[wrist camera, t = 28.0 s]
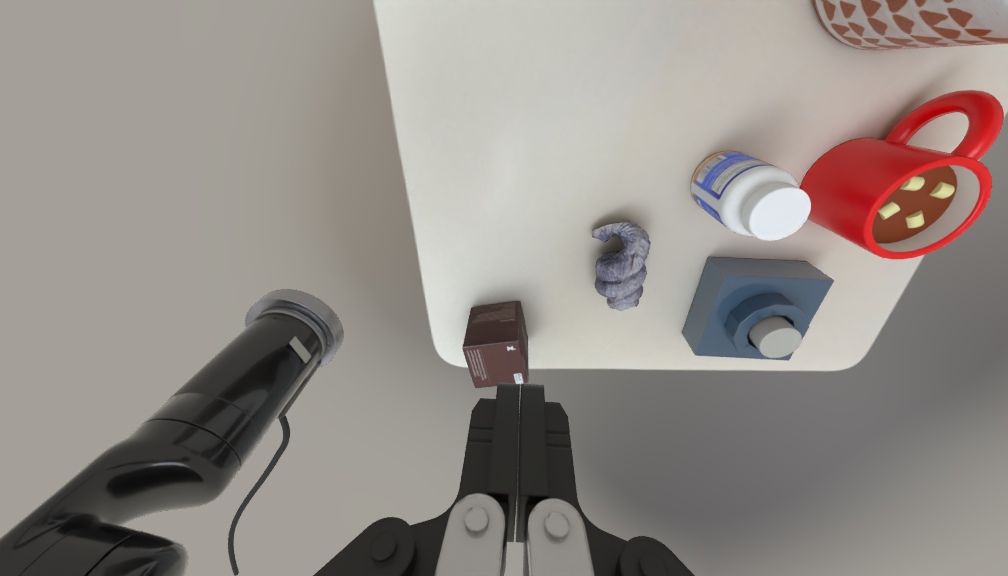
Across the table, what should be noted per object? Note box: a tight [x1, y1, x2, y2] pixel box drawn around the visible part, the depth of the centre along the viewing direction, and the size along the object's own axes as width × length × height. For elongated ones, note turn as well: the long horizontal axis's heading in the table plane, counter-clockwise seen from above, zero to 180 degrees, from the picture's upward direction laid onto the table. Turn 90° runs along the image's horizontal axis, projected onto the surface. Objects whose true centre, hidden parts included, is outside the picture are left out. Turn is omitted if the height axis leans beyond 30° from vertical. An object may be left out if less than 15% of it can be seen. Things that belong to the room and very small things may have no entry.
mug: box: [800, 90, 1004, 259], centre depth 29 cm, size 8×12×8 cm, turn 165°
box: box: [462, 301, 529, 388], centre depth 41 cm, size 6×6×7 cm
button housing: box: [682, 257, 834, 360], centre depth 38 cm, size 10×10×6 cm
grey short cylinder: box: [749, 316, 802, 358], centre depth 35 cm, size 4×4×2 cm
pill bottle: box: [691, 151, 811, 241], centre depth 30 cm, size 5×5×10 cm
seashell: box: [592, 221, 650, 311], centre depth 37 cm, size 5×5×10 cm
